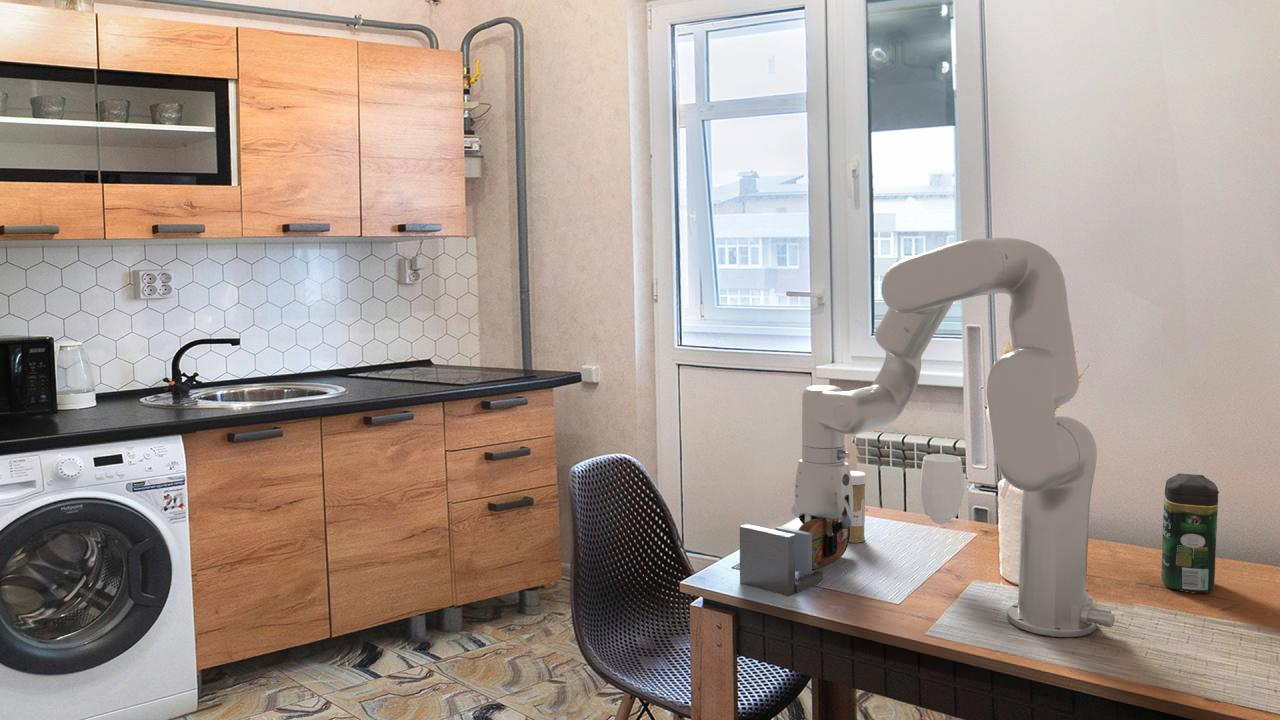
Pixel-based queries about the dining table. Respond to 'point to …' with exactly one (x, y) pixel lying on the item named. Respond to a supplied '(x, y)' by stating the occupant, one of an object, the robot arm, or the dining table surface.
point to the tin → (818, 533)
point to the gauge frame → (771, 561)
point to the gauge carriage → (801, 549)
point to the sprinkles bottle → (858, 506)
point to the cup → (941, 486)
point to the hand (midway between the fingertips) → (822, 552)
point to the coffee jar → (1189, 533)
